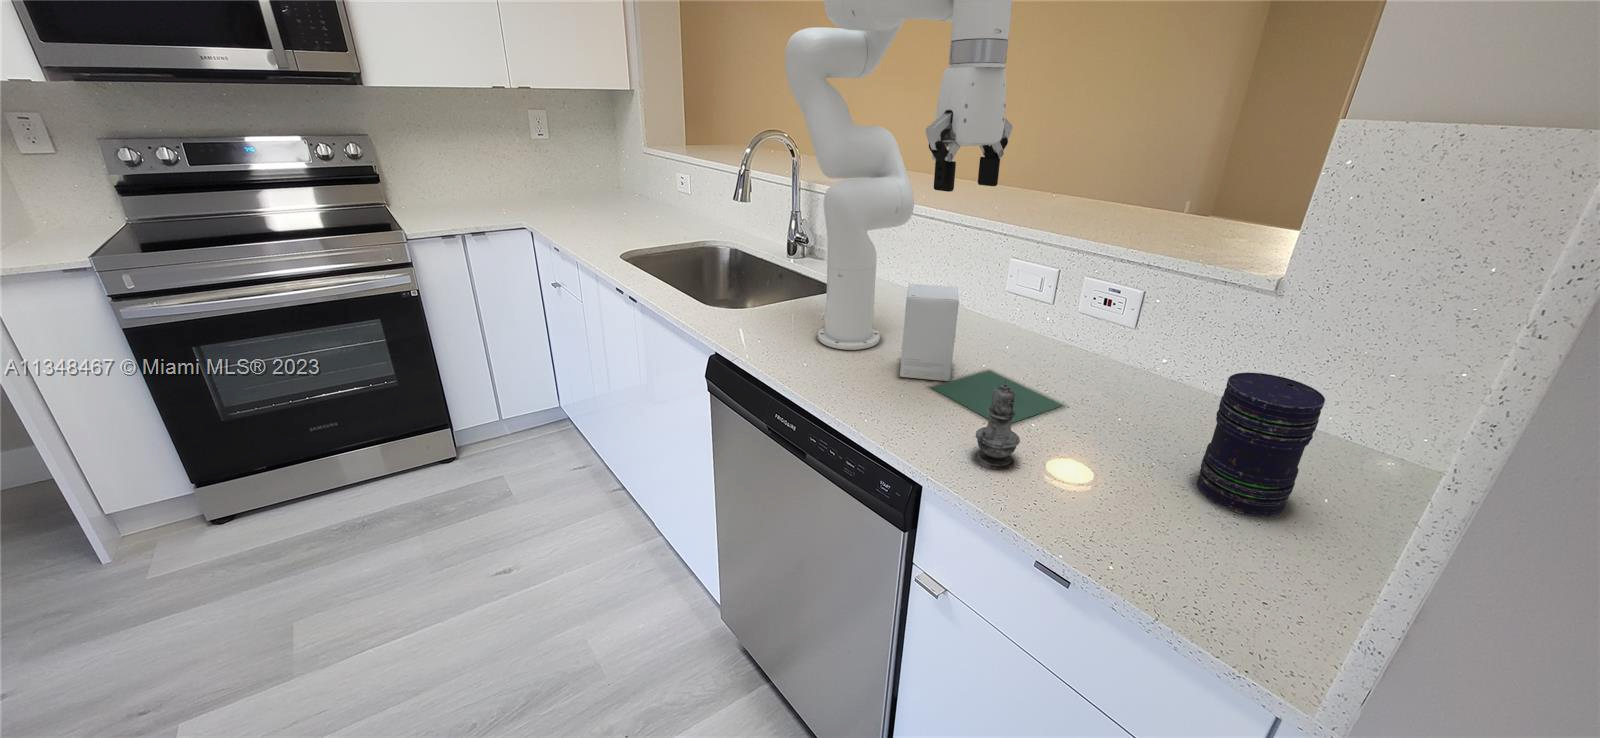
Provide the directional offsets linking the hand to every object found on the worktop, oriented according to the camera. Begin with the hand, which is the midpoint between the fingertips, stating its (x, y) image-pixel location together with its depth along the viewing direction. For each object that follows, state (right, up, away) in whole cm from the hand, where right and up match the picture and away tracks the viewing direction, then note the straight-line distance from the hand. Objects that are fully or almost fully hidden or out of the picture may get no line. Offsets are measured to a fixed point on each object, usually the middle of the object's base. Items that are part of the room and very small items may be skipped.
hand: (965, 187), depth 94 cm
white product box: (-1, -27, +24) cm, 36 cm away
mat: (+9, -31, +15) cm, 35 cm away
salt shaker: (+3, -39, -3) cm, 39 cm away
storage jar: (+32, -43, -10) cm, 54 cm away
